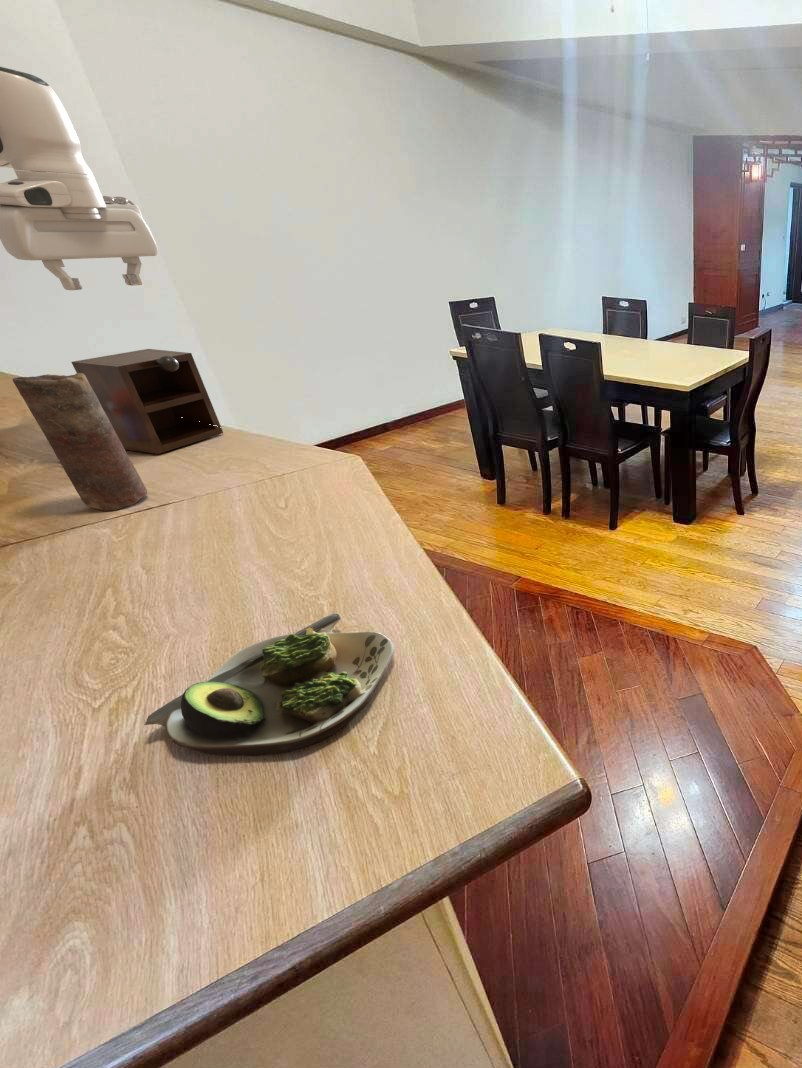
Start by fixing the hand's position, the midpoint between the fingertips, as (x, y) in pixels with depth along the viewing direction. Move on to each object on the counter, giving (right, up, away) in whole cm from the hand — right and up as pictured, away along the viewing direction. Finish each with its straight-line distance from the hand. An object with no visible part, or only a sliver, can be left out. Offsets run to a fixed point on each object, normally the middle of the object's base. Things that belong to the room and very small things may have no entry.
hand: (105, 287), depth 102 cm
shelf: (-7, -16, +11) cm, 21 cm away
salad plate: (+65, -61, -43) cm, 99 cm away
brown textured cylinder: (+11, -38, -8) cm, 41 cm away
